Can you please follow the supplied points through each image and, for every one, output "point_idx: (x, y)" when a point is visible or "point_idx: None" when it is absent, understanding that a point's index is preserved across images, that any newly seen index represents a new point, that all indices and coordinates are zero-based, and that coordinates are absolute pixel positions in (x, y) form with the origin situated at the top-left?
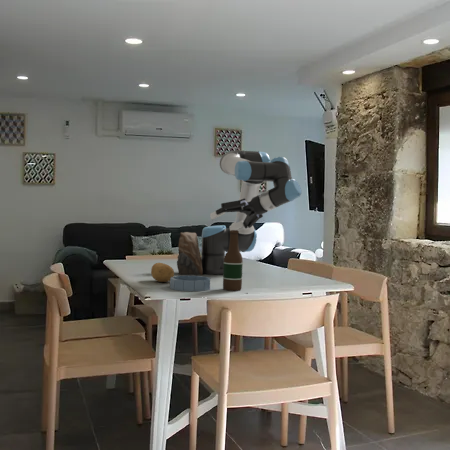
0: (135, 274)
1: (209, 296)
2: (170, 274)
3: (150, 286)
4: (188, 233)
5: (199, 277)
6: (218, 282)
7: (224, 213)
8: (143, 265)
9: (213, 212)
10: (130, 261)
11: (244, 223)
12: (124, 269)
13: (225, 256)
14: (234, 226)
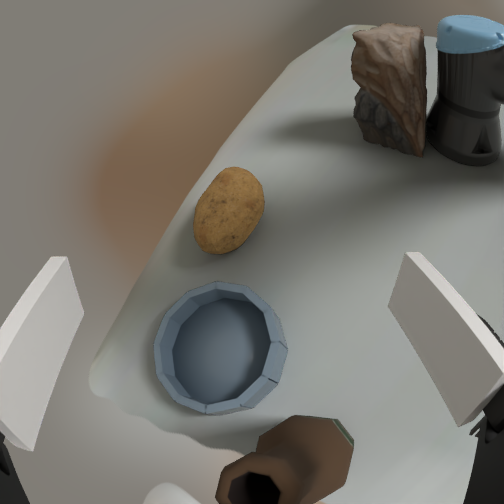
0: (266, 122)
1: (166, 485)
2: (216, 252)
3: (164, 278)
4: (384, 34)
5: (267, 325)
6: (389, 293)
7: (25, 448)
8: None
9: (34, 285)
10: (355, 31)
11: (498, 410)
12: (291, 78)
13: (257, 444)
14: (424, 316)
